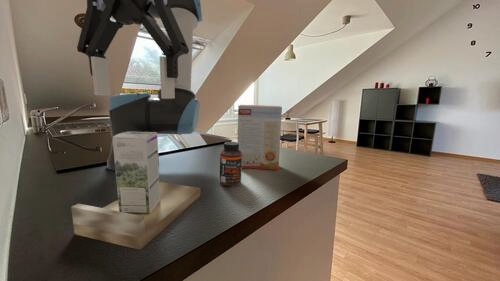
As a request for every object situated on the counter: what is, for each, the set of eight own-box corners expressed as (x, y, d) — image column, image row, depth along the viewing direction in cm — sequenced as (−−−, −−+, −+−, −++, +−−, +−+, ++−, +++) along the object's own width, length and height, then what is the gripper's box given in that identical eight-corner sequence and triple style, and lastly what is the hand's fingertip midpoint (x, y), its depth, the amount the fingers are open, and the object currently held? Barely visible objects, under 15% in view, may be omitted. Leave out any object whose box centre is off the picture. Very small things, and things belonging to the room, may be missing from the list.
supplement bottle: (224, 188, 58) (224, 146, 56) (216, 180, 63) (216, 141, 61) (244, 185, 61) (246, 144, 59) (235, 177, 66) (236, 140, 64)
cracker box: (278, 165, 80) (282, 105, 76) (278, 170, 74) (282, 106, 70) (239, 162, 81) (240, 104, 77) (236, 168, 75) (238, 104, 71)
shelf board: (74, 234, 38) (71, 206, 37) (153, 188, 57) (152, 169, 56) (140, 249, 35) (138, 220, 34) (200, 195, 54) (200, 176, 53)
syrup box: (161, 200, 46) (158, 131, 44) (149, 215, 41) (145, 136, 38) (133, 199, 46) (128, 130, 43) (117, 214, 40) (110, 135, 38)
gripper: (38, -47, 35) (57, 93, 39) (183, -69, 29) (187, 100, 33) (84, -23, 42) (96, 94, 46) (208, -37, 36) (208, 99, 40)
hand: (134, 97), depth 40 cm, fingers open, 13 cm apart
